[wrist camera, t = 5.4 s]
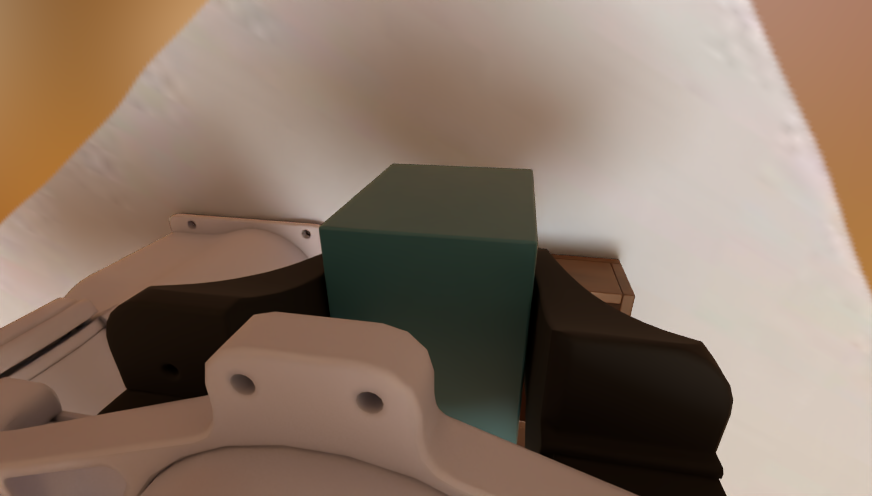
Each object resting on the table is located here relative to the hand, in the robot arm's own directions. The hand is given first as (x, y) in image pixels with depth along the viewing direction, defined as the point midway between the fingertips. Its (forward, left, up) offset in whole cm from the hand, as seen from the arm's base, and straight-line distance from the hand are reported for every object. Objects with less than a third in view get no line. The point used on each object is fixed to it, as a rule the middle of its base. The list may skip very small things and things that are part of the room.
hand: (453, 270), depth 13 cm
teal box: (0, 0, -1) cm, 1 cm away
